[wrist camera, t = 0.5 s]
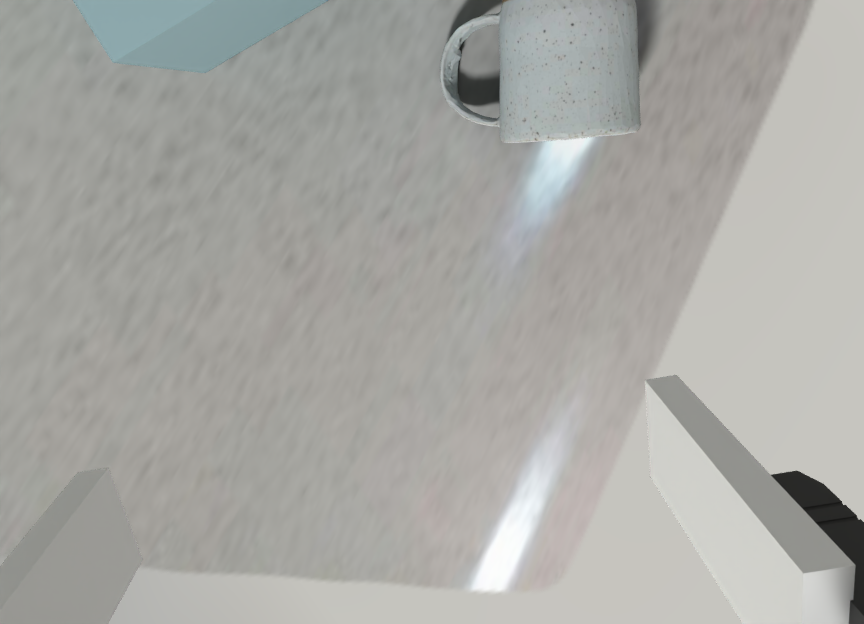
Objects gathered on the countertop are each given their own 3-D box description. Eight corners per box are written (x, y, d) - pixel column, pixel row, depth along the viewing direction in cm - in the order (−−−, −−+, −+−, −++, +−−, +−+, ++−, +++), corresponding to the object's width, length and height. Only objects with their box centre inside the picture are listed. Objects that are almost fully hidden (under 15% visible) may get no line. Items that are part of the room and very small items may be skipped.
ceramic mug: (615, -16, 38) (660, -42, 31) (617, 129, 41) (659, 137, 34) (433, 4, 39) (435, -17, 31) (446, 148, 41) (451, 159, 34)
